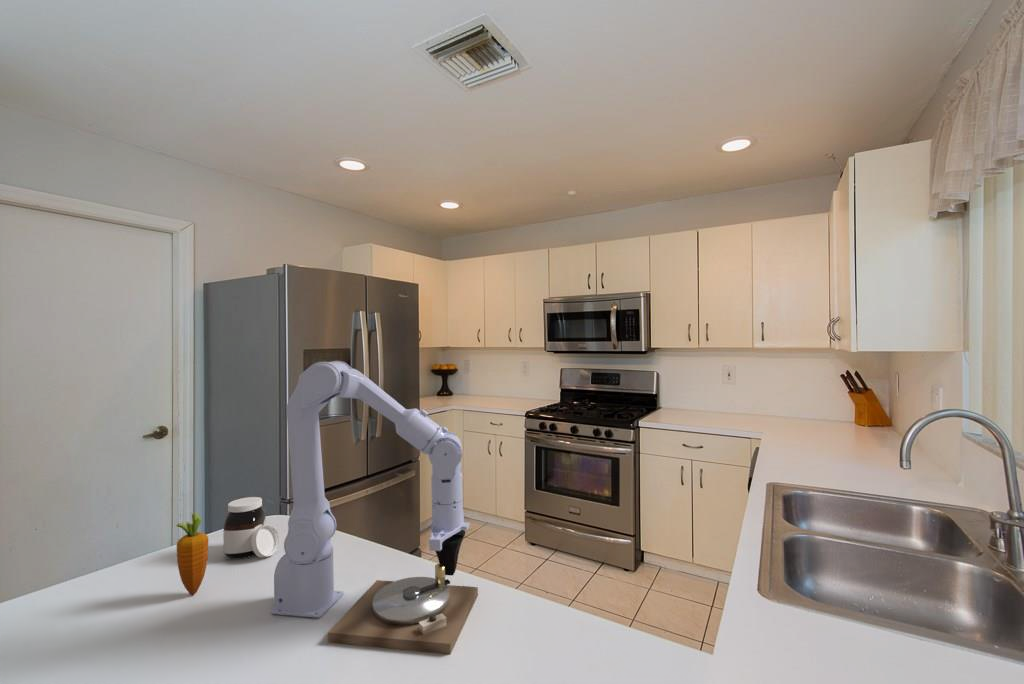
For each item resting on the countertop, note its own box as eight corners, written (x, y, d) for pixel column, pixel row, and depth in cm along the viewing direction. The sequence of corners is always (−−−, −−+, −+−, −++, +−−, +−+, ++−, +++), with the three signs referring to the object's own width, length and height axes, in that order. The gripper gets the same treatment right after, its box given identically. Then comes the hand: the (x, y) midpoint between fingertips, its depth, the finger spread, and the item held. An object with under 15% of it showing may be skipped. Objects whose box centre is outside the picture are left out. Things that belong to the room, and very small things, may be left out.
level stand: (328, 642, 72) (327, 620, 72) (376, 588, 88) (376, 570, 88) (450, 654, 68) (450, 631, 68) (477, 595, 84) (477, 576, 85)
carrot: (192, 603, 84) (191, 521, 84) (170, 600, 85) (169, 519, 85) (215, 589, 89) (214, 511, 89) (193, 587, 90) (193, 510, 90)
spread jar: (234, 545, 110) (234, 496, 110) (286, 539, 112) (285, 492, 112) (215, 568, 98) (214, 513, 98) (273, 561, 101) (272, 508, 101)
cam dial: (388, 634, 70) (387, 604, 70) (362, 598, 81) (362, 571, 81) (466, 604, 78) (465, 577, 78) (433, 575, 89) (433, 550, 89)
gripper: (456, 514, 77) (458, 595, 77) (477, 488, 92) (479, 557, 91) (417, 512, 78) (418, 592, 78) (444, 487, 93) (445, 555, 92)
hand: (448, 573), depth 85 cm, fingers closed
